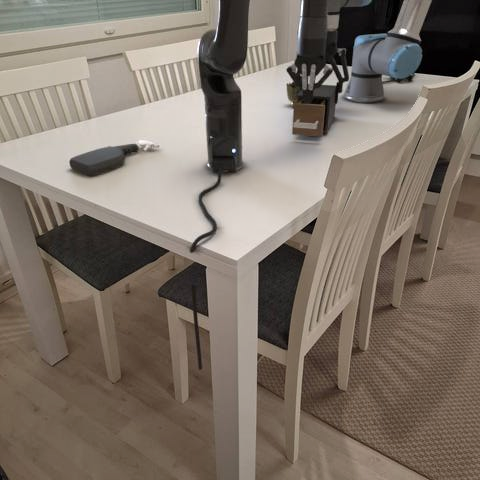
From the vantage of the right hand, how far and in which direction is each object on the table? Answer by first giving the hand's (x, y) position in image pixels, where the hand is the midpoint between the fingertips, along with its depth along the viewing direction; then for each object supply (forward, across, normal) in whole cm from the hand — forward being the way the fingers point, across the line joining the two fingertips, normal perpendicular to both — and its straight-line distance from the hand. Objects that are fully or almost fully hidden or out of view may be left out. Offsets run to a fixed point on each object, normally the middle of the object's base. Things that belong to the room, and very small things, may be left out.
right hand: (319, 101), depth 150 cm
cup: (+6, +11, -14) cm, 19 cm away
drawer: (+4, 0, +18) cm, 19 cm away
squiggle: (+5, -27, -66) cm, 72 cm away
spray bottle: (+6, +49, +51) cm, 71 cm away
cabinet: (+5, 0, +7) cm, 9 cm away
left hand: (-7, 0, +27) cm, 28 cm away
